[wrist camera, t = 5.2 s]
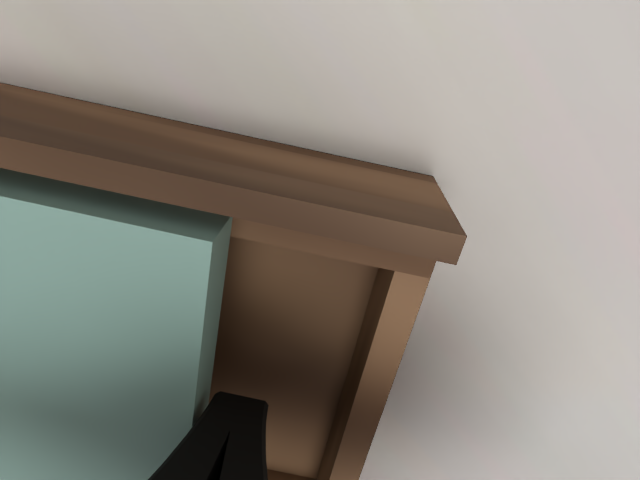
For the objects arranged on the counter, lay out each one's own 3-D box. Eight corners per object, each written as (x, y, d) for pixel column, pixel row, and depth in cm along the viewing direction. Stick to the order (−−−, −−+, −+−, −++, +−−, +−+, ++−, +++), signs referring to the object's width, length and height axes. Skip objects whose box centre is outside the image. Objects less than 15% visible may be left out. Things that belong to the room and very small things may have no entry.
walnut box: (330, 496, 17) (323, 613, 13) (-31, 423, 17) (-132, 523, 13) (432, 176, 11) (467, 236, 8) (-104, 60, 11) (-311, 69, 8)
